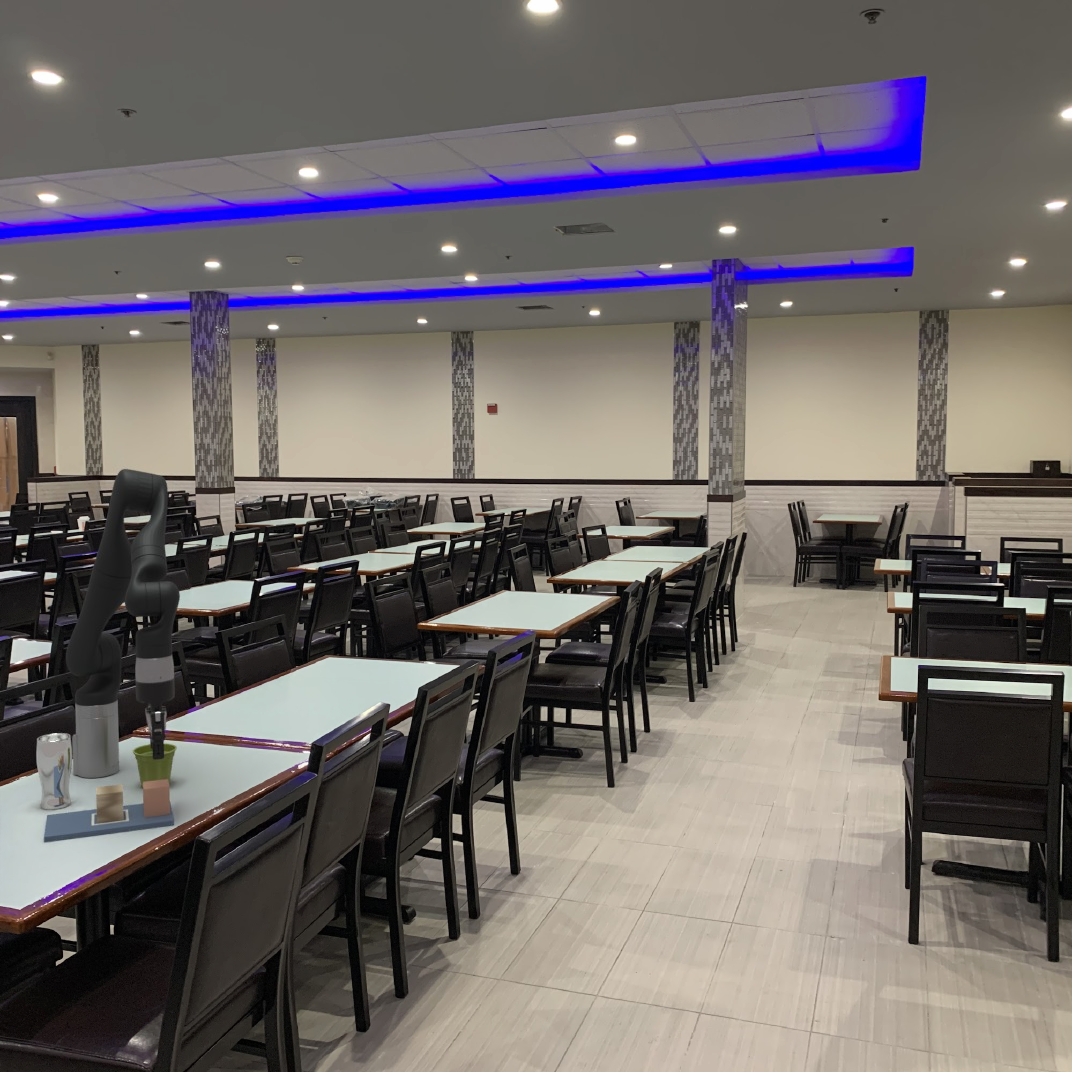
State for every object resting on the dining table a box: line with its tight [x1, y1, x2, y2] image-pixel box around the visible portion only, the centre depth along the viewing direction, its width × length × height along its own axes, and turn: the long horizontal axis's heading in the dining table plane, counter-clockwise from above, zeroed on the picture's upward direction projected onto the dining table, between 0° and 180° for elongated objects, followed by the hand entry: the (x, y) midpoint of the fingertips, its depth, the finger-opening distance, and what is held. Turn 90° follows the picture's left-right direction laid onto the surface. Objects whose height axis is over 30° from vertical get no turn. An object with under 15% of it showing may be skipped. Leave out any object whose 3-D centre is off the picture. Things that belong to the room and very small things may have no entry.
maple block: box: [95, 783, 124, 824], centre depth 205 cm, size 5×5×6 cm
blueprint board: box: [43, 802, 175, 843], centre depth 206 cm, size 24×13×1 cm, turn 114°
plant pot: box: [132, 743, 178, 788], centre depth 228 cm, size 9×9×9 cm
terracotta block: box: [142, 779, 171, 817], centre depth 209 cm, size 5×5×6 cm
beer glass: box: [36, 732, 73, 811], centre depth 215 cm, size 7×7×15 cm
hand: (157, 753), depth 208 cm, fingers open, 8 cm apart
